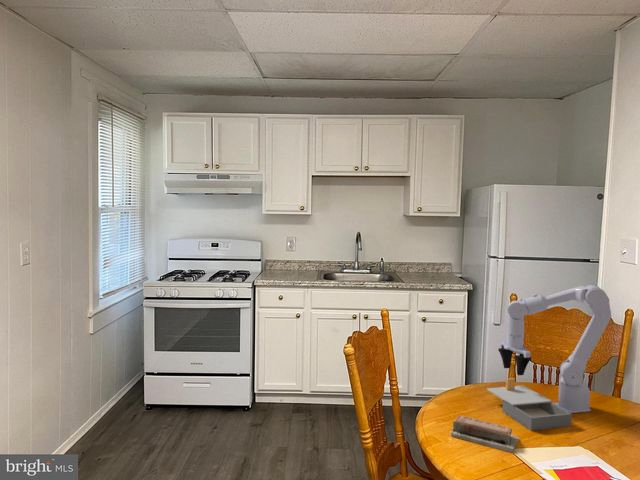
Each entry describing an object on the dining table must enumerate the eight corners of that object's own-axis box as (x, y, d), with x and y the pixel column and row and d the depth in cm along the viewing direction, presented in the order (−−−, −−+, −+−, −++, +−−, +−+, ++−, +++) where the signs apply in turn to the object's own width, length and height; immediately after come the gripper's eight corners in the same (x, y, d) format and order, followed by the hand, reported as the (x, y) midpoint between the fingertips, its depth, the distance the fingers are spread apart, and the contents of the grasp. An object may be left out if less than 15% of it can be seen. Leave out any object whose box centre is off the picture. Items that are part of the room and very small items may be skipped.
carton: (539, 408, 164) (540, 396, 164) (571, 426, 151) (571, 414, 150) (502, 411, 161) (502, 400, 160) (531, 430, 147) (531, 418, 147)
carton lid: (523, 386, 173) (523, 374, 173) (551, 402, 159) (552, 389, 159) (486, 389, 169) (487, 377, 169) (512, 405, 155) (513, 392, 155)
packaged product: (450, 421, 142) (459, 410, 150) (449, 437, 142) (458, 425, 150) (513, 438, 132) (519, 425, 141) (513, 454, 132) (519, 440, 141)
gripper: (493, 330, 176) (491, 365, 177) (518, 340, 162) (517, 378, 163) (509, 329, 178) (508, 364, 179) (536, 339, 164) (534, 377, 165)
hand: (513, 371), depth 171 cm, fingers open, 7 cm apart
